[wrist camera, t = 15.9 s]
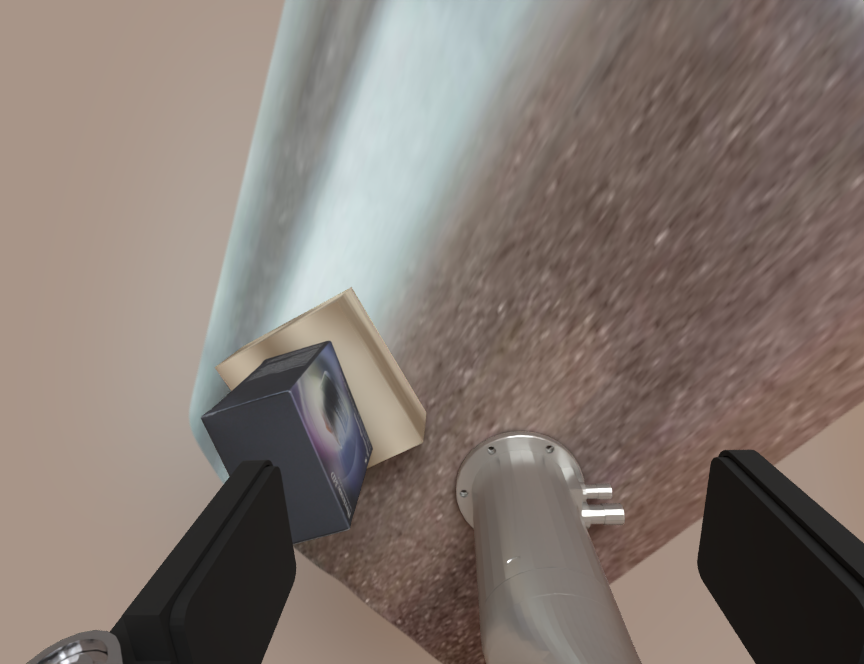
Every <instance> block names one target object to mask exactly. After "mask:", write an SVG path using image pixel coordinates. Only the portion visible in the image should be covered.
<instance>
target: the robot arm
mask: <svg viewBox="0 0 864 664" xmlns="http://www.w3.org/2000/svg"><path fill="white" fill-rule="evenodd" d="M549 445H550V446H549ZM547 446H548V447H547ZM489 447H492V448H489ZM456 497H457V503H458V506H459V509H460V512H461V513H462V515H463V517H464V519H465V520H466V521H467V522H468V524H469V525H470V526H471V527H472V528H473V529H474V539H475V555H476V571H477V586H478V602H479V618H480V632H481V643H482V650H483V654H484V657H485V661H486V664H642V663H641V661H640V659H639V657H638V654H637V652H636V650H635V647H634V645H633V643H632V640H631V638H630V635H629V633H628V631H627V628H626V626H625V623H624V621H623V618H622V616H621V613H620V611H619V608H618V606H617V603H616V601H615V599H614V596H613V594H612V591H611V589H610V586H609V584H608V581H607V579H606V576H605V574H604V571H603V569H602V566H601V563H600V561H599V558H598V556H597V553H596V551H595V548H594V546H593V543H592V541H591V538H590V536H589V533H588V531H587V528H590V524H603V525H623V524H624V521H625V516H624V510H623V507H622V505H621V504H620V503H606V504H600V505H588V503H587V501H586V500H587V499H612V489H611V486H610V484H595V485H585V483H584V477H583V475H582V472H581V469H580V467H579V465H578V463H577V461H576V459H575V458H574V456H573V455H572V454H571V452H570V451H569V450H568V449H567V448H566V447H564V446H563V445H562V444H561V443H560V442H558V441H556V440H554V439H552V438H551V437H548V436H545V435H542V434H539V433H535V432H528V431H512V432H507V433H502V434H499V435H496V436H494V437H491V438H489V439H487V440H485V441H484V442H482V443H480V444H479V445H477V446H476V447H475V448H474V449H473V450H472V451H471V452H470V453H469V454H468V455H467V457H466V458H465V459H464V461H463V463H462V465H461V467H460V469H459V471H458V475H457V479H456ZM697 564H698V570H699V573H700V576H701V579H702V580H703V582H704V584H705V585H706V587H707V588H708V590H709V592H710V593H711V594H712V596H713V598H714V599H715V601H716V602H717V604H718V605H719V607H720V609H721V610H722V611H723V613H724V615H725V616H726V618H727V620H728V621H729V623H730V624H731V626H732V627H733V629H734V630H735V632H736V634H737V635H738V637H739V638H740V640H741V641H742V643H743V645H744V646H745V648H746V649H747V651H748V652H749V654H750V655H751V657H752V658H753V660H754V662H755V663H756V664H864V543H863V542H861V541H860V540H859V539H858V538H857V537H856V536H855V535H853V534H852V533H851V532H850V531H849V530H847V529H846V528H845V527H844V526H843V525H841V524H840V523H839V522H838V521H837V520H836V519H835V518H834V517H832V516H831V515H830V514H829V513H828V512H826V511H825V510H824V509H823V508H822V507H821V506H820V505H818V504H817V503H816V502H815V501H814V500H812V499H811V498H810V497H809V496H808V495H807V494H806V493H804V492H803V491H802V490H801V489H800V488H798V487H797V486H796V485H795V484H794V483H793V482H791V481H790V480H789V479H788V478H787V477H786V476H784V475H783V474H782V473H781V472H780V471H779V470H777V469H776V468H775V467H774V466H773V465H772V464H771V463H769V462H768V461H767V460H766V459H765V458H764V457H762V456H761V455H760V454H759V453H758V452H756V451H754V450H724V451H722V452H721V453H720V454H719V457H715V458H713V460H712V461H711V466H710V473H709V480H708V487H707V495H706V502H705V509H704V516H703V523H702V531H701V538H700V545H699V552H698V560H697ZM295 575H296V561H295V555H294V549H293V543H292V537H291V531H290V524H289V518H288V512H287V506H286V500H285V494H284V488H283V482H282V475H281V471H280V468H279V467H278V466H273V464H272V462H271V461H270V460H245V461H242V462H241V463H240V464H239V466H238V467H237V468H236V469H235V471H234V472H233V473H232V475H231V476H230V477H229V478H228V480H227V481H226V482H225V484H224V485H223V486H222V487H221V489H220V490H219V491H218V493H217V494H216V495H215V497H214V498H213V499H212V500H211V502H210V503H209V504H208V505H207V507H206V508H205V509H204V511H203V512H202V513H201V515H200V516H199V517H198V519H197V520H196V521H195V522H194V523H193V525H192V526H191V527H190V529H189V530H188V531H187V533H186V534H185V535H184V536H183V538H182V539H181V540H180V542H179V543H178V544H177V545H176V547H175V548H174V550H172V552H171V553H170V554H169V556H168V557H167V558H166V560H165V561H164V562H163V563H162V565H161V566H160V567H159V568H158V570H157V571H156V572H155V574H154V575H153V576H152V577H151V579H150V580H149V581H148V583H147V584H146V585H145V587H144V588H143V589H142V590H141V592H140V593H139V594H138V596H137V597H136V598H135V599H134V601H133V602H132V603H131V605H130V606H129V607H128V608H127V610H126V611H125V612H124V614H123V615H122V617H121V618H120V619H119V621H118V622H117V623H116V624H115V626H114V627H113V628H112V630H111V631H110V632H108V631H100V630H93V631H87V632H82V633H78V634H76V635H73V636H70V637H68V638H65V639H62V640H60V641H59V642H57V643H55V644H53V645H52V646H50V647H48V648H46V649H45V650H43V651H42V652H40V653H39V654H38V655H37V656H35V657H34V658H33V659H31V660H30V661H29V662H27V663H26V664H261V663H262V660H263V657H264V655H265V652H266V650H267V648H268V645H269V643H270V640H271V638H272V635H273V633H274V630H275V628H276V625H277V623H278V620H279V618H280V616H281V613H282V611H283V608H284V606H285V603H286V601H287V598H288V596H289V593H290V591H291V588H292V586H293V583H294V580H295Z"/></svg>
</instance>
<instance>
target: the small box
mask: <svg viewBox="0 0 864 664" xmlns="http://www.w3.org/2000/svg"><path fill="white" fill-rule="evenodd" d="M201 419H202V421H203V423H204V426H205V427H206V429H207V431H208V433H209V435H210V438H211V440H212V442H213V444H214V446H215V448H216V450H217V452H218V454H219V456H220V458H221V460H222V462H223V464H224V466H225V468H226V470H227V472H228V474H229V476H231V475H232V473H233V472H234V471H235V469H236V468H237V467H238V466H239V464H240V463H241V462H242V461H245V460H270V461H271V462H272V464H273V466H278V467H279V468H280V471H281V475H282V482H283V488H284V494H285V500H286V506H287V512H288V518H289V524H290V531H291V537H292V543H293V545H294V544H298V543H301V542H305V541H309V540H313V539H316V538H320V537H324V536H328V535H332V534H336V533H339V532H343V531H347V530H349V529H350V526H351V521H352V518H353V514H354V511H355V508H356V504H357V501H358V497H359V494H360V490H361V487H362V483H363V480H364V476H365V473H366V470H367V466H368V463H369V460H370V456H371V453H372V450H373V447H372V444H371V442H370V439H369V437H368V434H367V431H366V429H365V426H364V424H363V421H362V419H361V416H360V414H359V411H358V409H357V406H356V403H355V401H354V398H353V396H352V393H351V391H350V388H349V385H348V383H347V380H346V378H345V375H344V373H343V370H342V368H341V365H340V362H339V360H338V357H337V355H336V352H335V350H334V347H333V345H332V342H331V341H325V342H322V343H318V344H315V345H311V346H308V347H304V348H301V349H298V350H295V351H291V352H288V353H285V354H282V355H278V356H275V357H271V358H268V359H265V360H264V361H263V362H262V364H261V365H260V366H259V367H258V368H256V369H255V370H254V371H253V372H252V373H251V374H250V375H249V376H248V377H247V378H245V379H244V380H243V381H242V382H241V383H240V384H239V385H238V386H237V387H235V388H234V389H233V390H232V391H231V392H230V393H229V394H228V395H227V396H226V397H225V398H223V399H222V400H221V401H220V402H219V403H218V404H217V405H215V406H214V407H213V408H212V409H211V410H210V411H208V412H207V413H205V414H204V415H203V416H202V417H201Z"/></svg>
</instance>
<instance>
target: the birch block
mask: <svg viewBox="0 0 864 664" xmlns="http://www.w3.org/2000/svg"><path fill="white" fill-rule="evenodd" d="M325 341H331V342H332V345H333V347H334V350H335V352H336V355H337V357H338V360H339V362H340V365H341V368H342V370H343V373H344V375H345V378H346V380H347V383H348V385H349V388H350V391H351V393H352V396H353V398H354V401H355V403H356V406H357V409H358V411H359V414H360V416H361V419H362V421H363V424H364V426H365V429H366V431H367V434H368V437H369V439H370V442H371V444H372V447H373V450H372V453H371V456H370V460H369V463H368V466H367V468H369V467H371V466H374V465H376V464H378V463H380V462H382V461H384V460H386V459H389V458H391V457H393V456H395V455H397V454H399V453H402V452H404V451H406V450H408V449H410V448H412V447H414V446H417V445H419V444H421V443H423V439H424V430H425V421H426V412H425V410H424V408H423V406H422V405H421V403H420V401H419V400H418V398H417V396H416V395H415V393H414V391H413V390H412V388H411V386H410V385H409V383H408V381H407V380H406V378H405V376H404V375H403V373H402V371H401V370H400V368H399V366H398V364H397V363H396V361H395V359H394V358H393V356H392V354H391V353H390V351H389V349H388V348H387V346H386V344H385V343H384V341H383V339H382V338H381V336H380V334H379V333H378V331H377V329H376V328H375V326H374V324H373V322H372V321H371V319H370V317H369V316H368V314H367V312H366V311H365V309H364V307H363V306H362V304H361V302H360V301H359V299H358V297H357V296H356V294H355V292H354V291H353V289H352V287H351V288H349V289H347V290H345V291H344V292H342V293H340V294H338V295H336V296H335V297H333V298H331V299H329V300H327V301H325V302H324V303H322V304H320V305H318V306H316V307H314V308H313V309H311V310H309V311H307V312H305V313H303V314H302V315H300V316H298V317H296V318H294V319H292V320H291V321H289V322H287V323H285V324H283V325H281V326H280V327H278V328H276V329H274V330H272V331H270V332H269V333H267V334H265V335H263V336H261V337H259V338H258V339H256V340H254V341H252V342H250V343H248V344H247V345H245V346H243V347H242V348H240V349H239V350H238V351H236V352H235V353H234V354H232V355H231V356H230V357H228V358H227V359H226V360H224V361H223V362H222V363H220V364H219V365H218V366H216V367H215V369H216V370H217V371H218V373H219V374H220V376H221V377H222V378H223V380H224V381H225V383H226V384H227V386H228V387H229V388H230V390H231V391H232V390H233V389H234V388H235V387H237V386H238V385H239V384H240V383H241V382H242V381H243V380H244V379H245V378H247V377H248V376H249V375H250V374H251V373H252V372H253V371H254V370H255V369H256V368H258V367H259V366H260V365H261V364H262V362H263V361H264V360H265V359H268V358H271V357H275V356H278V355H282V354H285V353H288V352H291V351H295V350H298V349H301V348H304V347H308V346H311V345H315V344H318V343H322V342H325Z"/></svg>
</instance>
